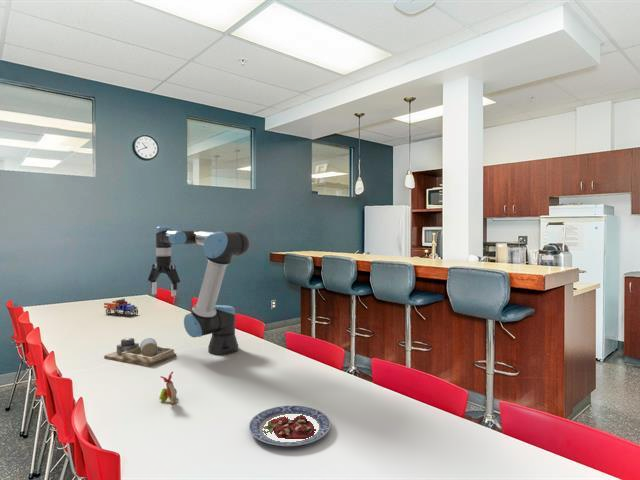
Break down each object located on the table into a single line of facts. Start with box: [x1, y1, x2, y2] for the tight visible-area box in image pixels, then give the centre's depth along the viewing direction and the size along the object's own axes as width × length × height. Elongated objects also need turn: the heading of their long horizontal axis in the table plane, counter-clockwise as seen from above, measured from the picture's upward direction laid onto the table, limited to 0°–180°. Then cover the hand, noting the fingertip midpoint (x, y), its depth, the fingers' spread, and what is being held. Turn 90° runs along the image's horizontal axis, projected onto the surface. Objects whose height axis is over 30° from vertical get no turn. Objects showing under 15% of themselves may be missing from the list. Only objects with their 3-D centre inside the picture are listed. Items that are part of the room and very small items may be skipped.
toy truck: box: [103, 298, 139, 317], centre depth 290 cm, size 8×25×11 cm, turn 71°
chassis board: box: [103, 342, 177, 368], centre depth 198 cm, size 29×17×5 cm, turn 67°
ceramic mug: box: [139, 337, 164, 357], centre depth 197 cm, size 11×8×8 cm
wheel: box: [120, 337, 135, 346], centre depth 201 cm, size 6×6×6 cm
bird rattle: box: [158, 371, 178, 405], centre depth 148 cm, size 6×11×9 cm
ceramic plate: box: [248, 405, 332, 447], centre depth 129 cm, size 26×26×3 cm
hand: (163, 295), depth 218 cm, fingers open, 13 cm apart
